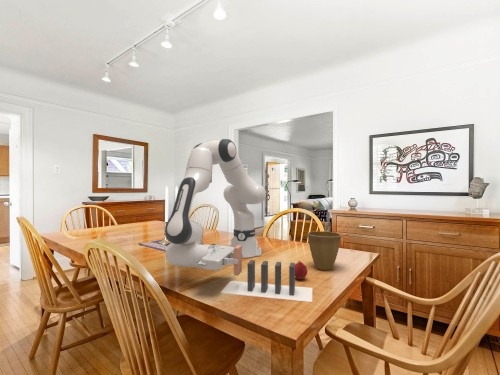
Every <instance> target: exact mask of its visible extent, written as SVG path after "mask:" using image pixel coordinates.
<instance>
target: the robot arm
mask: <svg viewBox="0 0 500 375" xmlns="http://www.w3.org/2000/svg"><path fill="white" fill-rule="evenodd" d="M217 164H218V165H219V168H220V170H221V171H222V172H221V173H222V174H223V177H224V178H225V180H226V182H227V183H228V184H229V185H227V186H225V188H224V190H223V198H224V200H225V201H226V202H227V203H228V204H229V206H230V208H231V209H232V213H233V214H232V215H233V221H234V222H233V223H234V224H233V225H234V228H233V237H231V239H230V246H228V245H218V244H217V243H210V244H202V242H203V237H204V228H203V226H202V225H201V224H200V223H199V222H196V221H194V220H192V219H190V215H191V214H190V212H191V209H192V205H193V200H194V198H195V195H196V194H199V193H202V192H204V191H205V190H207V189H208V188H209V186H210V184H211V181H212V175H213V165H217ZM184 173H185V174H184V177H183V179H182V181H181V182H180V184H179V188H178V191H177V194H176V196H175V197H176V198H175V202H174V206H173V209H172V212H171V215H170V217H169V218H168V220H167V222H166V224H165V226H164V235H165V238H166V239H167V241H168V242H170V243H169V244H168V245H167V246H166V248H165V254H164V255H165V258H166V261H167V262H168V263H169V264H171V265H173V266H177V267H183V268H184V267H186V268H189V267H194V268H198V269H204V270H209V271H220V270H221V269H223V268H224V267H225V266H228V265H234V264H237V263H238V258H234V248H235V247H236V246H237V245H242V259H243V258H244V259H246V258H253V257H259V256H262V247H261V246H259V245H258V244H259V243H258V238H257V237H256V227H255V215H254V213H253V212H252V211H250V210H249V208H248V206H247V205H259V204H262V203H264V201H265V199H266V197H267V191H266V189H265V188H264V186H263V185H261V184H259V183H258V182H256V181H255V180H254V179H253V178H251V176H250V175H249V174H248V173H247V171H246V169H245V167H244V165H243V162H242V160H241V158H240V156H239V154H238V152H237V147H236V145H235V143H234V142H233V141H232V140H231V139H229V138H222V139H214V140H210V141H206V142H201V143H199V144H196V145H195V146H194V147H193V148H192V150H191V151H190V154H189V155H188V159H187V163H186V166H185V172H184Z"/></svg>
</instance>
